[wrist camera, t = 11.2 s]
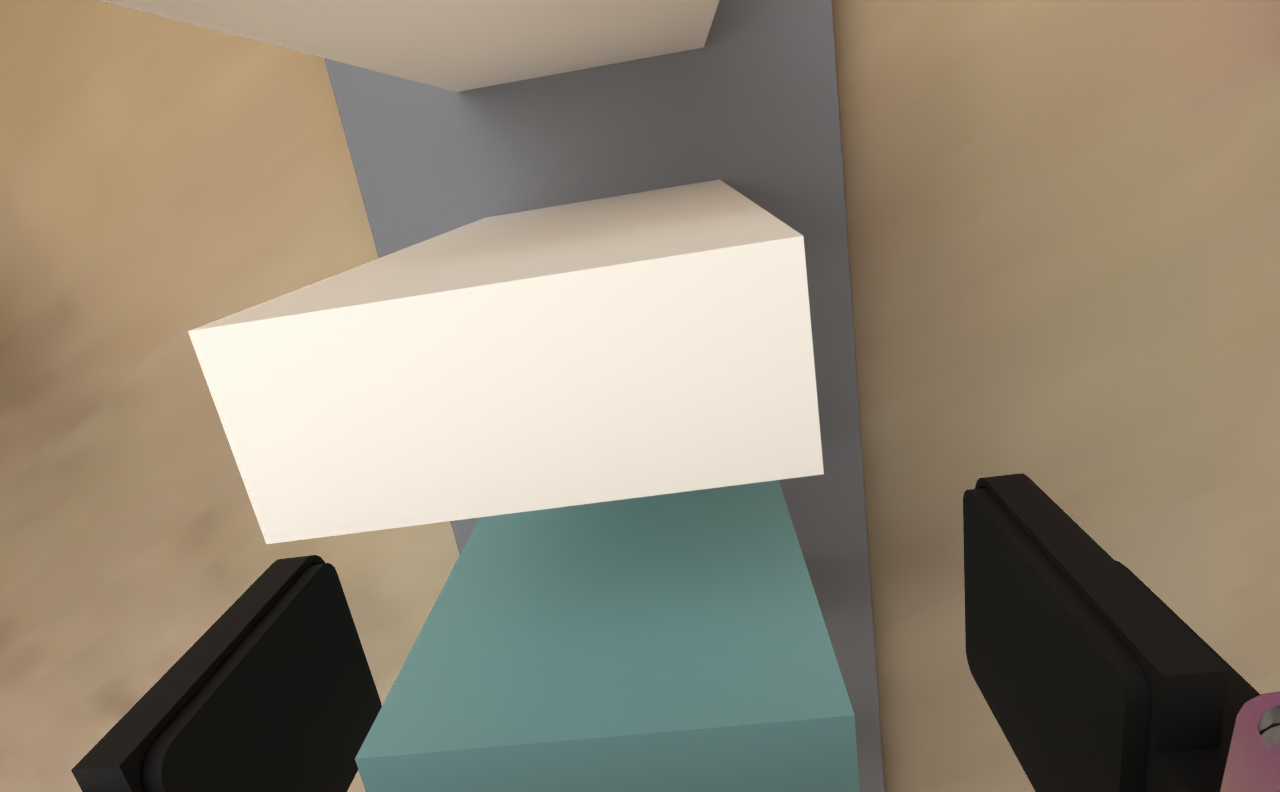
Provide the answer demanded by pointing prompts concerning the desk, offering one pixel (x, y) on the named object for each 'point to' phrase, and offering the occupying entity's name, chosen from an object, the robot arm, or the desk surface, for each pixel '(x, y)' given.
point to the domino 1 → (457, 33)
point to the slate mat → (655, 159)
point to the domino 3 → (623, 658)
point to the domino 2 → (526, 368)
